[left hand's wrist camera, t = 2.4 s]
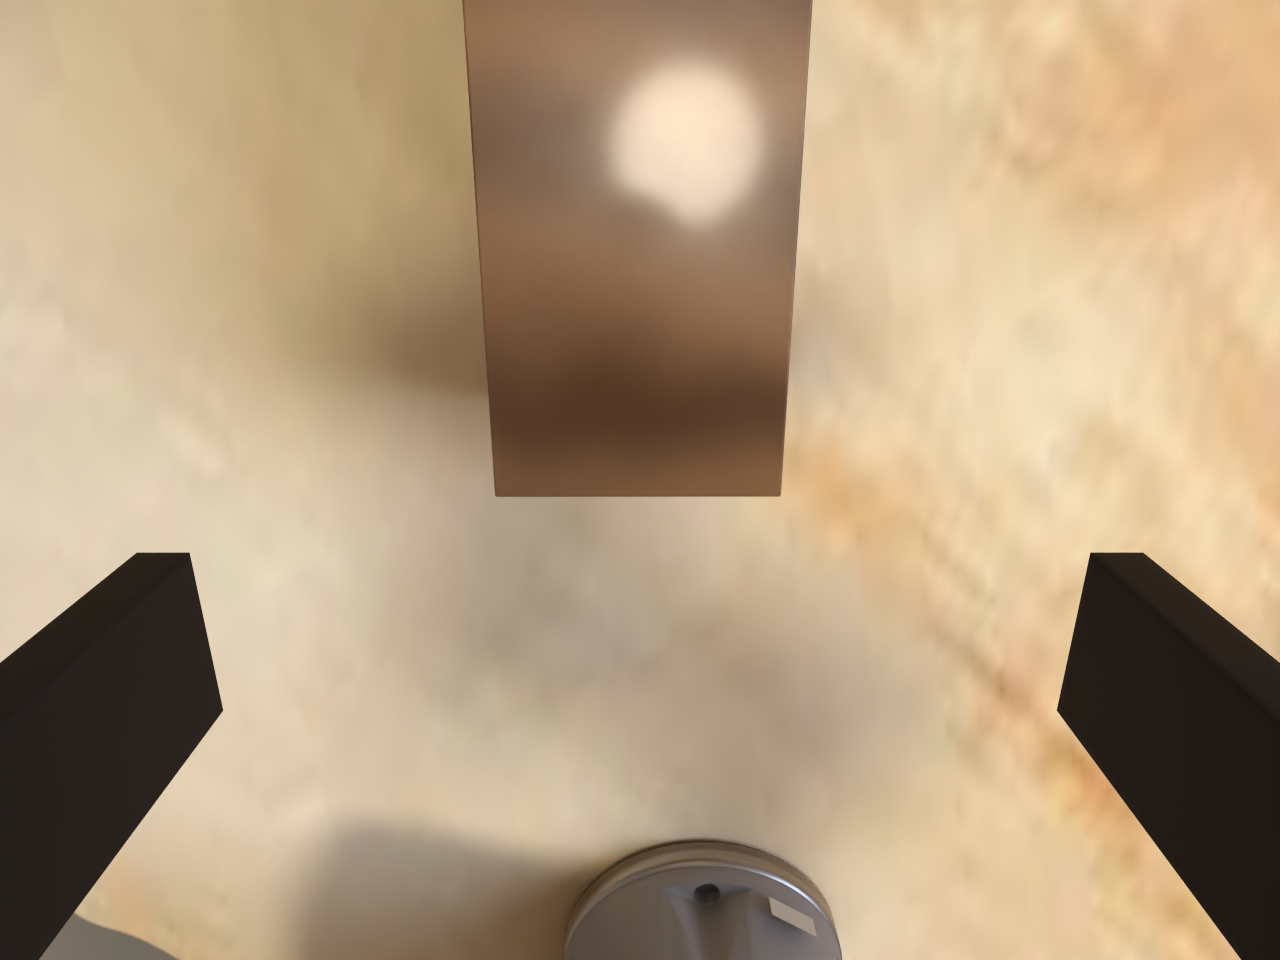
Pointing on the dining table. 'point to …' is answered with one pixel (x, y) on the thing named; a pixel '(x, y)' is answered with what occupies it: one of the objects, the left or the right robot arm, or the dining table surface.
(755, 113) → the box
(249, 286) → the dining table surface
